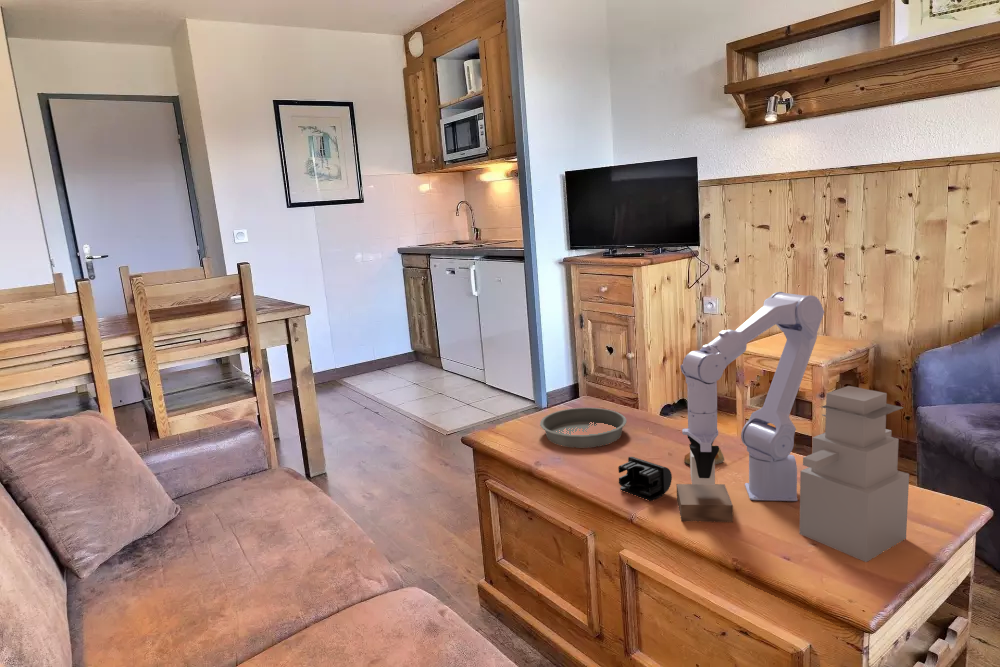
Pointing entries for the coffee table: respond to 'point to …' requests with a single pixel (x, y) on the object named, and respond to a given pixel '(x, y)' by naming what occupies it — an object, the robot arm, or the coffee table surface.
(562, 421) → the cake pan
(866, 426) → the three tier block tower
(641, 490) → the end cap
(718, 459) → the pastry
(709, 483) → the white block
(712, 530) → the coffee table surface
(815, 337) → the robot arm
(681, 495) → the walnut base
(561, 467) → the coffee table surface
